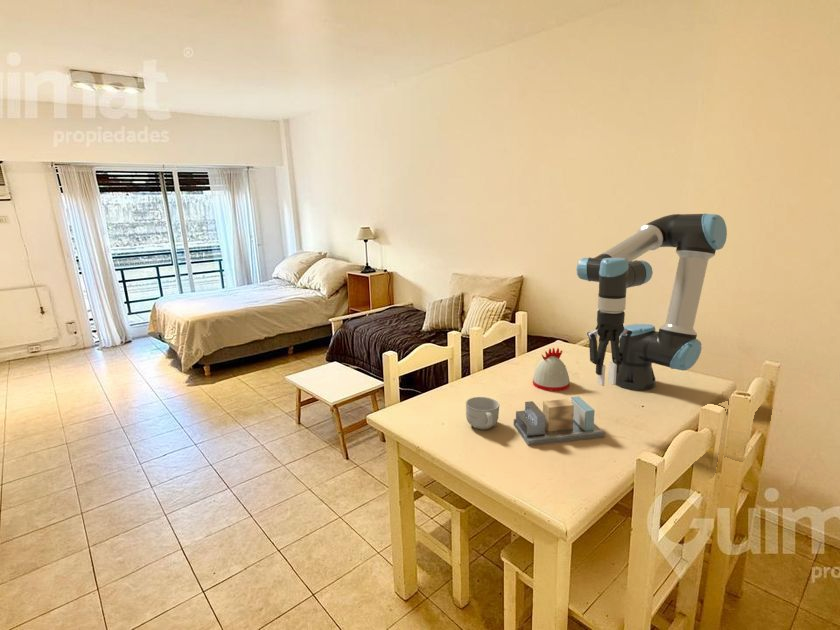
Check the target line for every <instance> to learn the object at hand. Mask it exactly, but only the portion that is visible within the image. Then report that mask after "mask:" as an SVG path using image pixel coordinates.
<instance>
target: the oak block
mask: <svg viewBox="0 0 840 630" xmlns="http://www.w3.org/2000/svg"><path fill="white" fill-rule="evenodd" d="M542 412H543V414H544V415H545V428H546V429H547V431H557V430H566V429H573V416H574V405H573V404H572V403H571V400H569V399H568V398H565V399H564V398H563V399H552V400H544V401H542Z"/></svg>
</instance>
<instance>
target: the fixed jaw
mask: <svg viewBox="0 0 840 630" xmlns="http://www.w3.org/2000/svg"><path fill="white" fill-rule="evenodd" d="M515 419H516V424H517V425H518V426H519V428H520V429H521V431H522V432H523V434H524V435H525V436H526V438H531V437H540V436H545V415H544V414H543V410H541V409H540V408H539V407H538V406H537V404H536V403H535V402H534V401H530V400H529V401H525V402H524V410H519V411H518V410H517V411H515Z"/></svg>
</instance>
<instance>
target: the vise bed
mask: <svg viewBox="0 0 840 630" xmlns="http://www.w3.org/2000/svg"><path fill="white" fill-rule="evenodd" d="M513 427H515V429H516V430H517V432H518V433H519V435H520V437H521V438H522V439H523V441H524V443H526V445H527V446H529V447H530V446H539V445H548V444H555V443H558V444H559V443H566V442H567V443H568V442H574V441H583V440H584V441H586V440H593V439H602V438H605V430H604V429H601V428H600V427H599V426H598V425H597V424H595V423H594V429H593V431H586V432H585V431H584V430H583V429H582V428H581V427H580V426H579V425H578V424H577V423H576V422H575V421H574V420H573V429H566V430H557V431H547V429H546V428H545V436H540V437H531V438H526V436H525V435H524V434H523V432H522V431H521V429H520V428H519V426H518V425H517V424H516V418H513Z"/></svg>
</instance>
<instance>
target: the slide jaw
mask: <svg viewBox="0 0 840 630" xmlns="http://www.w3.org/2000/svg"><path fill="white" fill-rule="evenodd" d="M570 402H571V403H572V404H573V405H574V416H573V420H574V421H575V422H576V423H577V424H578V425H579V426H580V427H581V428H582V429H583V430H584V431H585V432H586V431H593V429H594V424H595V411H596V410H595V409H594V407H593V408H592V406H590V405H589V404H588V403H587V402H586V401H585V400H584V399H583V398H581V397H580V396H579V395H578V396H571V400H570Z"/></svg>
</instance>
